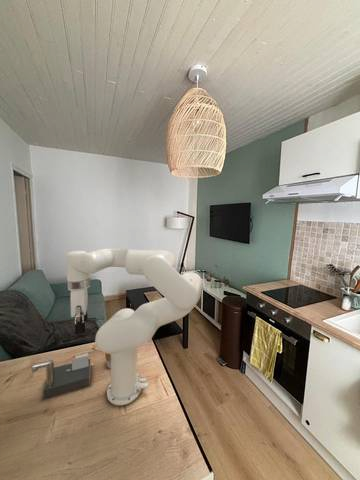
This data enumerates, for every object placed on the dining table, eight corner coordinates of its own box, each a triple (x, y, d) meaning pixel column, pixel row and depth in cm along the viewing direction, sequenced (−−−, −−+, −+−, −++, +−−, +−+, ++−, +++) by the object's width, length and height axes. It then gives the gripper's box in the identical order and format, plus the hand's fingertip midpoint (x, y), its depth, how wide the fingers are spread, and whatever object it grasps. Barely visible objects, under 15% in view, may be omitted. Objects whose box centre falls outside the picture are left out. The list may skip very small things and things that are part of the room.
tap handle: (88, 363, 82) (88, 352, 82) (88, 366, 81) (88, 354, 80) (72, 367, 80) (72, 356, 79) (72, 370, 78) (71, 358, 78)
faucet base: (94, 365, 86) (94, 357, 86) (94, 384, 76) (93, 376, 76) (50, 376, 80) (50, 367, 80) (43, 398, 70) (43, 389, 70)
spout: (55, 380, 74) (54, 357, 73) (54, 385, 72) (52, 362, 70) (34, 386, 71) (32, 362, 70) (32, 391, 69) (30, 367, 68)
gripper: (71, 278, 80) (74, 318, 82) (63, 292, 64) (66, 341, 66) (91, 276, 83) (93, 314, 84) (88, 289, 66) (91, 336, 68)
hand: (82, 326), depth 75 cm, fingers open, 9 cm apart
